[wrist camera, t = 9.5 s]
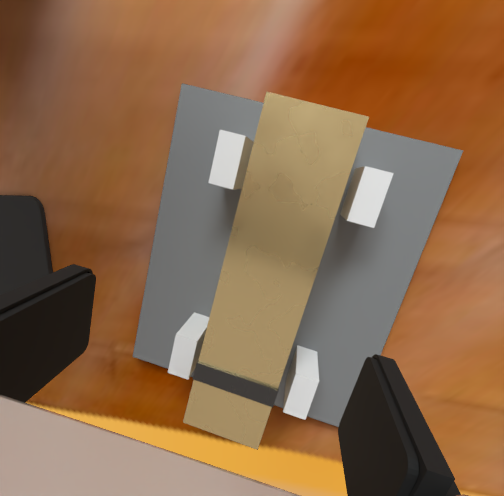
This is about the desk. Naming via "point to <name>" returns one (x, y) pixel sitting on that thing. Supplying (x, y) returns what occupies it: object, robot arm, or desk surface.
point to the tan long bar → (271, 262)
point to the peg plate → (332, 263)
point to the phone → (22, 242)
